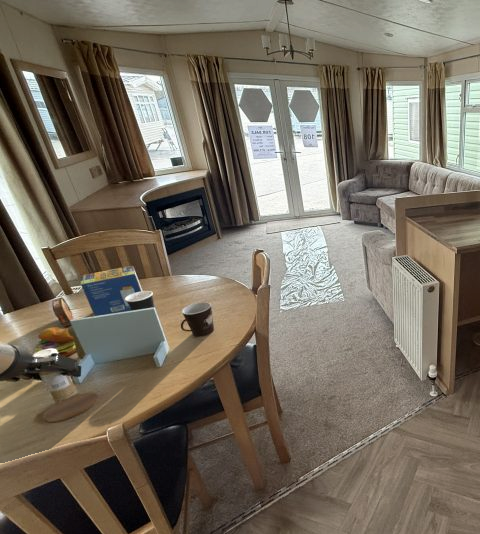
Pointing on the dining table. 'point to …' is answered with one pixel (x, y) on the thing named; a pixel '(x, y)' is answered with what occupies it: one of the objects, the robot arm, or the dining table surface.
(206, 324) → the coffee mug
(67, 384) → the sprinkles bottle
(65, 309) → the tin
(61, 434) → the dining table surface
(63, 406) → the coaster
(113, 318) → the light blue standing panel
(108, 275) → the protein box
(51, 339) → the cheeseburger
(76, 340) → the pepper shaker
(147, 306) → the dixie cup
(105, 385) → the dining table surface
